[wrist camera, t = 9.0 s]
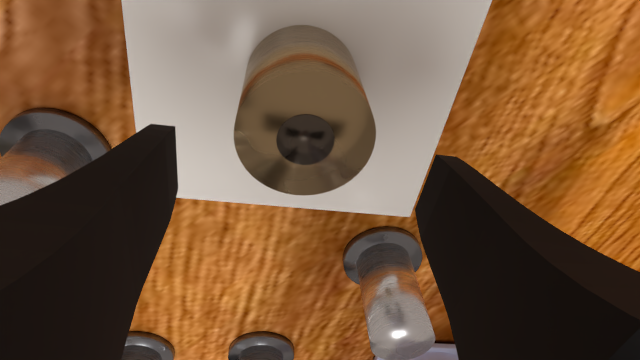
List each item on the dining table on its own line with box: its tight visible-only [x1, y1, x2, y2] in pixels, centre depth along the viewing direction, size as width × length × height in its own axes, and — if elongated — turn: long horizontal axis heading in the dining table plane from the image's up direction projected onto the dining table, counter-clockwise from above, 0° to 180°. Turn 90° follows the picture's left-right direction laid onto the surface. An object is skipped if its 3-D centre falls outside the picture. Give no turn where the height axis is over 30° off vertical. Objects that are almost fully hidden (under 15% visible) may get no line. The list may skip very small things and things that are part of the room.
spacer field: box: [0, 108, 435, 360], centre depth 22 cm, size 24×20×6 cm
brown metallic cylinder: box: [234, 25, 376, 196], centre depth 15 cm, size 4×4×5 cm
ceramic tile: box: [121, 0, 492, 217], centre depth 17 cm, size 13×13×1 cm
